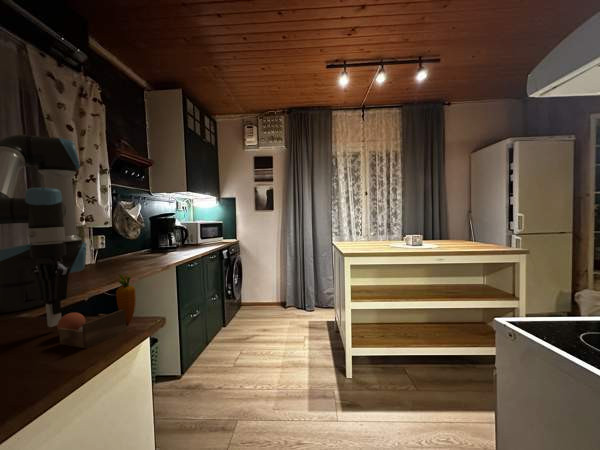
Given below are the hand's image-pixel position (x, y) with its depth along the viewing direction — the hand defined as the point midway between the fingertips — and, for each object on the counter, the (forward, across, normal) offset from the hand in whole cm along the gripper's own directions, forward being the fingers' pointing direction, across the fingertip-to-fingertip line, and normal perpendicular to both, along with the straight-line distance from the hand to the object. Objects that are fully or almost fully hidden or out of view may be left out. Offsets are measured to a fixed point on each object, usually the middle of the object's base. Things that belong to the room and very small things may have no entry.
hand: (55, 324), depth 79 cm
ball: (-1, +8, 0) cm, 8 cm away
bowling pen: (+2, +16, 0) cm, 16 cm away
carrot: (+2, +17, +9) cm, 19 cm away
